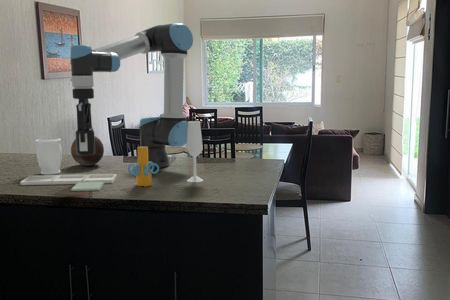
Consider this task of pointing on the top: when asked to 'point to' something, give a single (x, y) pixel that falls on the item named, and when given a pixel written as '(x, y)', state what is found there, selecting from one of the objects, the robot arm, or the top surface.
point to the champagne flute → (194, 145)
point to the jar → (49, 155)
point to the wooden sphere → (88, 159)
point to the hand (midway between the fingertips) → (85, 149)
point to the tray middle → (69, 179)
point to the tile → (87, 186)
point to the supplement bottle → (89, 141)
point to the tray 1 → (38, 180)
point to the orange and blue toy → (143, 168)
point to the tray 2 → (100, 178)
